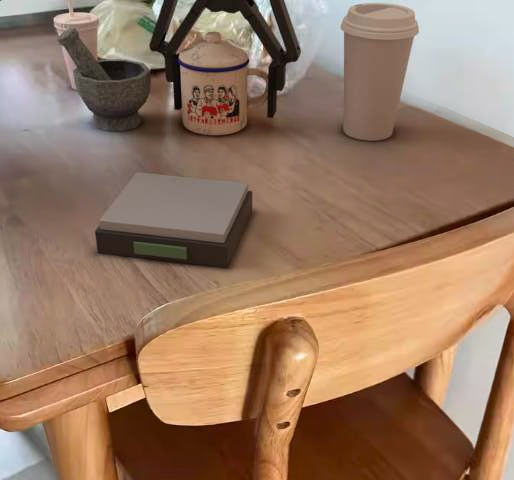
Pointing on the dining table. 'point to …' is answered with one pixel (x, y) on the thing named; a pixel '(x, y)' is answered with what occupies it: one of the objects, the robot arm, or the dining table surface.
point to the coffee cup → (375, 66)
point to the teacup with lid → (216, 86)
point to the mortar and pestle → (108, 85)
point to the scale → (176, 220)
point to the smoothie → (87, 33)
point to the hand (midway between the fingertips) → (225, 110)
